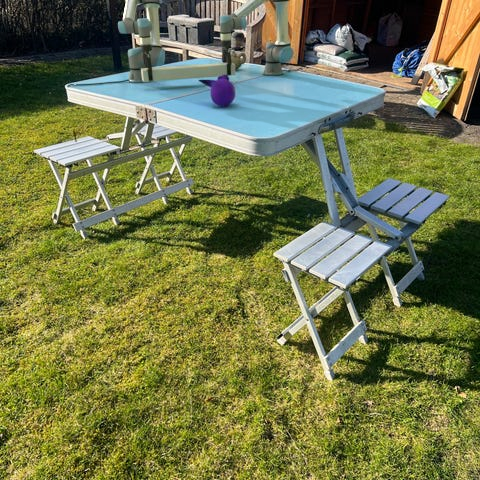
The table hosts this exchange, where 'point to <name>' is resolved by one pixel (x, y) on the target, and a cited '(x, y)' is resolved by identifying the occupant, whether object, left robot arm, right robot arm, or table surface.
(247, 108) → the table surface
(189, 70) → the thick block
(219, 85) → the toy
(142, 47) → the left robot arm
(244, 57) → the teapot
